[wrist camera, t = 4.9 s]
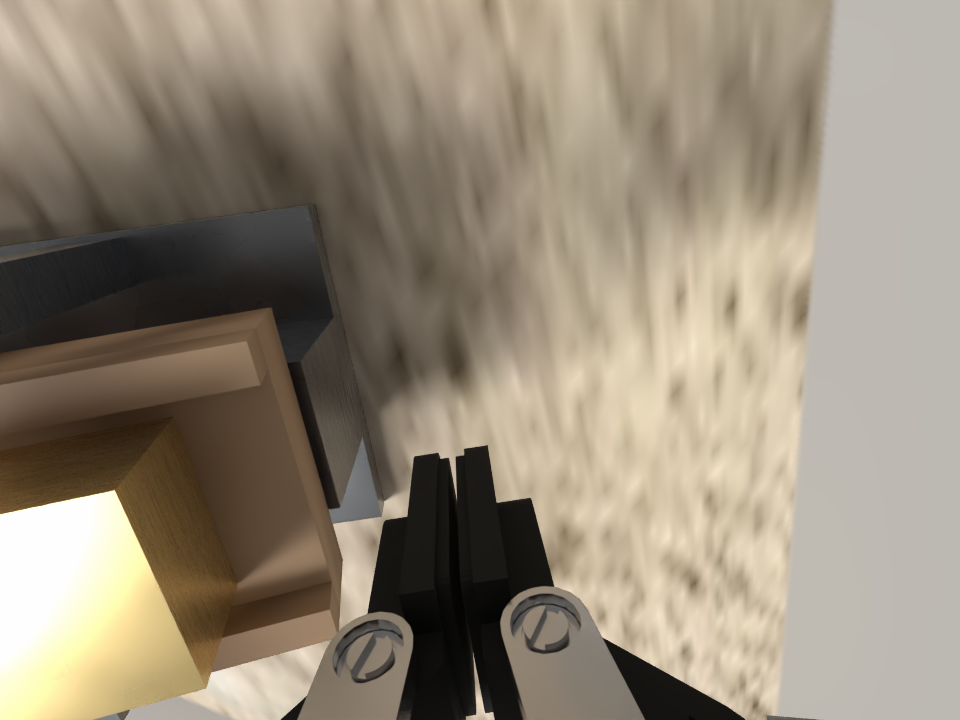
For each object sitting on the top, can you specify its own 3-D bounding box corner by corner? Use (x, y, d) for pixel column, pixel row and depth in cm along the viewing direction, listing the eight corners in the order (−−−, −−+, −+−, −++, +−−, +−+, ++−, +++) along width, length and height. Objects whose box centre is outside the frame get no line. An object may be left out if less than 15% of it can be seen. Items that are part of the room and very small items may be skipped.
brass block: (173, 416, 12) (114, 490, 9) (238, 583, 13) (206, 688, 11) (-75, 464, 11) (-226, 563, 8) (29, 635, 13) (-65, 763, 10)
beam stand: (314, 203, 18) (202, 233, 10) (384, 501, 22) (348, 694, 14) (-228, 277, 18) (-818, 371, 9) (-45, 563, 22) (-334, 795, 14)
